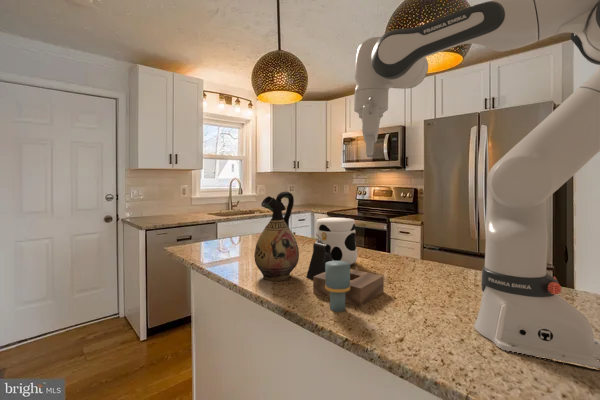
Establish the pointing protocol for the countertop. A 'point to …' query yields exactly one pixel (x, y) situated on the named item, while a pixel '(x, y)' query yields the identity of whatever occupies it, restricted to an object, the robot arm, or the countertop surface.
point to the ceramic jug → (277, 241)
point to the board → (354, 287)
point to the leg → (337, 283)
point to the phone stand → (319, 259)
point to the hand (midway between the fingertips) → (369, 156)
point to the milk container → (338, 237)
